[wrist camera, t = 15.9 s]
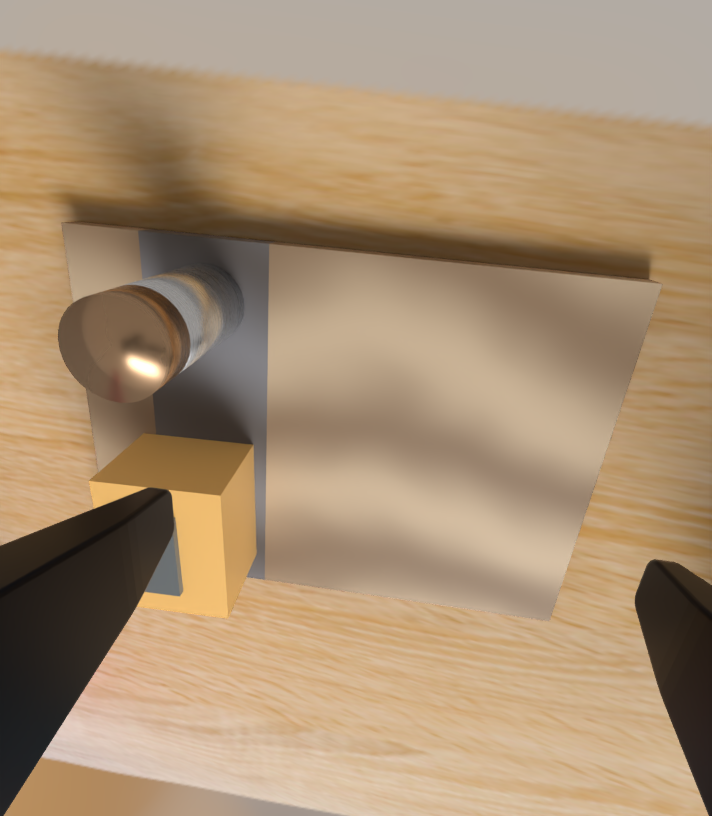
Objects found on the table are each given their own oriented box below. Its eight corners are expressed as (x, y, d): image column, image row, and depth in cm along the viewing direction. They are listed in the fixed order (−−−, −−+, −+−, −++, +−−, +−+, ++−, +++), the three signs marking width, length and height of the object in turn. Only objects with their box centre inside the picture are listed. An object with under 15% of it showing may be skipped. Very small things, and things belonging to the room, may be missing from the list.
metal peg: (244, 344, 19) (170, 409, 13) (172, 336, 20) (67, 396, 14) (244, 267, 18) (162, 300, 12) (166, 259, 18) (49, 288, 12)
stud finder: (256, 553, 24) (225, 624, 20) (157, 541, 24) (107, 608, 20) (253, 444, 21) (217, 500, 17) (143, 433, 21) (83, 485, 18)
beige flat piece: (544, 605, 24) (549, 621, 23) (121, 544, 26) (111, 557, 25) (649, 279, 18) (662, 284, 17) (78, 221, 19) (61, 222, 18)
